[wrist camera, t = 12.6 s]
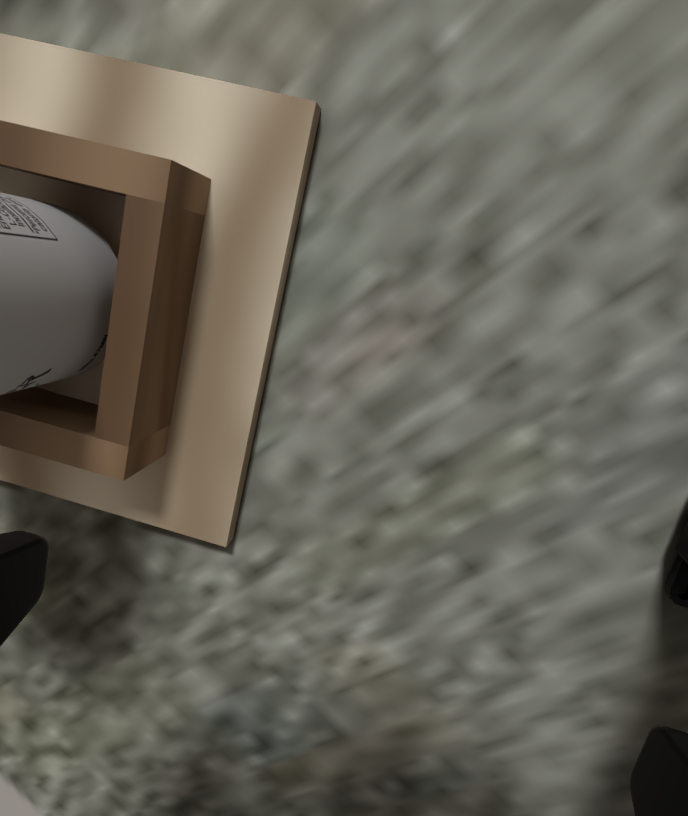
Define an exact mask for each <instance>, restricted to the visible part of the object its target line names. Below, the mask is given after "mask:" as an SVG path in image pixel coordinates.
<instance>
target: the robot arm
mask: <svg viewBox="0 0 688 816" xmlns="http://www.w3.org/2000/svg"><path fill="white" fill-rule="evenodd" d="M676 549H677V551H678V556H677V558H676V560H675V563H674V565H673V568H672V570H671V572H670V575H669V577H668V579H667V582H666V586H665V590H666V593H667V594H668V596H669V597H670V598H671V600H672V601H673V602H674V603H676V604H678V605H680V606H683V607H687V608H688V590H687V591H686V592H685V593H682V594H677V591H678V590H679V589H680V588H681V587H684V586H685V587H688V520H687V522H686V524H685V527H684V529H683V532H682V534H681V536H680V539H679V541H678V544H677V546H676ZM47 558H48V542H47V540H46V539H45V538H44V537H41V536H38V535H35V534H32V533H28V532H25V531H14V532H9V533H3V534H0V646H1V645H2V644H3V643H4V641H5V640H6V639H7V638H8V637H9V635H10V634H11V633H12V632H13V631H14V629H15V628H16V627H17V626H18V624H19V623H20V622H21V621H22V620H23V618H24V617H25V616H26V615H27V614H28V612H29V611H30V610H31V609H32V608H33V606H34V605H35V604H36V603H37V601H38V600H39V598H40V596H41V594H42V591H43V588H44V583H45V575H46V566H47ZM630 788H631V796H632V801H633V806H634V812H635V816H688V734H687V733H685V732H682V731H679V730H675V729H672V728H669V727H665V726H662V725H658V726H655V727H653V728H652V729H651V731H650V732H649V734H648V736H647V738H646V741H645V743H644V745H643V748H642V750H641V752H640V754H639V757H638V759H637V761H636V763H635V766H634V768H633V771H632V774H631V781H630Z"/></svg>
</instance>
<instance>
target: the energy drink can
mask: <svg viewBox="0 0 688 816" xmlns="http://www.w3.org/2000/svg"><path fill="white" fill-rule="evenodd" d="M117 261H118V260H117V259H116V257H115V255H114V253H113V251H112V249H111V247H110V245H109V244H108V243H107V241H106V240H105V239H104V238H103V236H102V235H101V234H100V232H99V231H98V230H97V229H96V228H95V227H94V226H92V225H91V224H90V223H89V222H88V221H87V220H86V219H85V218H83V217H81V216H80V215H78V214H76V213H74V212H73V211H71V210H69V209H66V208H64V207H61V206H58V205H55V204H51V203H47V202H42V201H37V200H33V199H28V198H23V197H19V196H14V195H10V194H5V193H0V395H3V394H7V393H11V392H15V391H19V390H22V389H26V388H30V387H34V386H38V385H42V384H46V383H50V382H54V381H58V380H62V379H66V378H70V377H73V376H77V375H80V374H83V373H85V372H87V371H88V370H90V369H92V368H94V367H95V366H96V365H98V364H99V363H100V362H101V361H102V360H103V359H104V358H105V352H106V344H107V337H108V329H109V321H110V314H111V306H112V299H113V291H114V284H115V276H116V269H117Z"/></svg>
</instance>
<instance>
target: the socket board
mask: <svg viewBox="0 0 688 816" xmlns="http://www.w3.org/2000/svg"><path fill="white" fill-rule="evenodd" d="M320 112H321V108H320V107H319V105H318V103H317V102H316V101H312V100H307V99H303V98H298V97H293V96H289V95H284V94H279V93H275V92H270V91H266V90H261V89H256V88H252V87H247V86H242V85H238V84H233V83H228V82H224V81H219V80H214V79H210V78H205V77H201V76H196V75H191V74H187V73H182V72H177V71H173V70H168V69H163V68H159V67H154V66H149V65H145V64H140V63H136V62H131V61H126V60H122V59H117V58H112V57H108V56H103V55H98V54H94V53H89V52H84V51H80V50H75V49H71V48H66V47H61V46H57V45H52V44H47V43H43V42H38V41H33V40H29V39H24V38H19V37H15V36H10V35H6V34H1V33H0V193H5V194H10V195H14V196H19V197H23V198H28V199H33V200H37V201H42V202H47V203H51V204H55V205H58V206H61V207H64V208H66V209H69V210H71V211H73V212H74V213H76V214H78V215H80V216H81V217H83V218H85V219H86V220H87V221H88V222H89V223H90V224H91V225H92V226H94V227H95V228H96V229H97V230H98V231H99V232H100V234H101V235H102V236H103V238H104V239H105V240H106V241H107V243H108V244H109V245H110V247H111V249H112V251H113V253H114V255H115V257H116V259H117V260H118V261H117V269H116V276H115V284H114V291H113V299H112V306H111V314H110V321H109V329H108V337H107V344H106V352H105V358H104V359H103V360H102V361H101V362H100V363H99V364H98V365H96V366H95V367H94V368H92V369H90V370H88V371H87V372H85V373H83V374H80V375H77V376H73V377H70V378H66V379H62V380H58V381H54V382H50V383H46V384H42V385H38V386H34V387H30V388H26V389H22V390H19V391H15V392H11V393H7V394H3V395H0V480H2V481H5V482H8V483H12V484H15V485H19V486H22V487H25V488H29V489H32V490H35V491H39V492H42V493H45V494H49V495H52V496H55V497H59V498H62V499H66V500H69V501H72V502H76V503H79V504H82V505H86V506H89V507H92V508H96V509H99V510H102V511H106V512H109V513H113V514H116V515H119V516H123V517H126V518H129V519H133V520H136V521H139V522H143V523H146V524H149V525H153V526H156V527H160V528H163V529H166V530H170V531H173V532H176V533H180V534H183V535H186V536H190V537H193V538H196V539H200V540H203V541H207V542H210V543H213V544H217V545H220V546H223V547H227V545H228V544H229V543H230V542H231V540H232V539H233V536H234V531H235V526H236V521H237V517H238V512H239V507H240V502H241V497H242V492H243V487H244V482H245V478H246V473H247V468H248V463H249V458H250V453H251V448H252V443H253V438H254V434H255V429H256V424H257V419H258V414H259V409H260V404H261V399H262V395H263V390H264V385H265V380H266V375H267V370H268V365H269V360H270V356H271V351H272V346H273V341H274V336H275V331H276V326H277V321H278V317H279V312H280V307H281V302H282V297H283V292H284V287H285V282H286V277H287V273H288V268H289V263H290V258H291V253H292V248H293V243H294V238H295V234H296V229H297V224H298V219H299V214H300V209H301V204H302V199H303V195H304V190H305V185H306V180H307V175H308V170H309V165H310V160H311V156H312V151H313V146H314V141H315V136H316V131H317V126H318V121H319V116H320Z"/></svg>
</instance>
